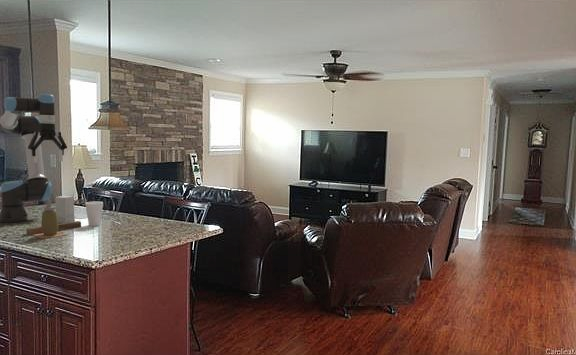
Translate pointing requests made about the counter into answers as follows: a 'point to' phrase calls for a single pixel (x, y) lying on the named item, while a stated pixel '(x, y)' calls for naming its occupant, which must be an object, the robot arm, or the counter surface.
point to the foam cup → (94, 212)
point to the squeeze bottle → (49, 220)
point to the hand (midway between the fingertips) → (48, 161)
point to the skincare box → (65, 209)
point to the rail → (38, 231)
